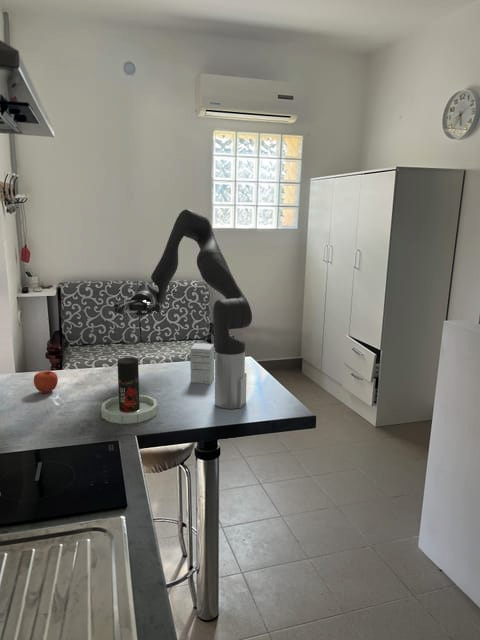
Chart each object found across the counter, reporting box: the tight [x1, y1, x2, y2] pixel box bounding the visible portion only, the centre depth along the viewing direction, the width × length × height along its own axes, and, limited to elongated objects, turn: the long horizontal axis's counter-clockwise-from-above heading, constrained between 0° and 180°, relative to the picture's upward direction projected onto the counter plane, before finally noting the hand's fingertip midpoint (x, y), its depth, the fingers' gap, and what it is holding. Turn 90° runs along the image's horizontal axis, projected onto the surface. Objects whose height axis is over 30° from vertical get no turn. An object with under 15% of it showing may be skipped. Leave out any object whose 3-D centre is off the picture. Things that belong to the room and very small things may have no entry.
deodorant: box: [116, 357, 140, 413], centre depth 143 cm, size 6×6×15 cm
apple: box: [33, 368, 59, 395], centre depth 159 cm, size 7×7×8 cm
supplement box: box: [189, 342, 215, 385], centre depth 172 cm, size 7×7×13 cm
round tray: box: [100, 394, 158, 425], centre depth 144 cm, size 16×16×2 cm
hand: (133, 310), depth 149 cm, fingers open, 8 cm apart
